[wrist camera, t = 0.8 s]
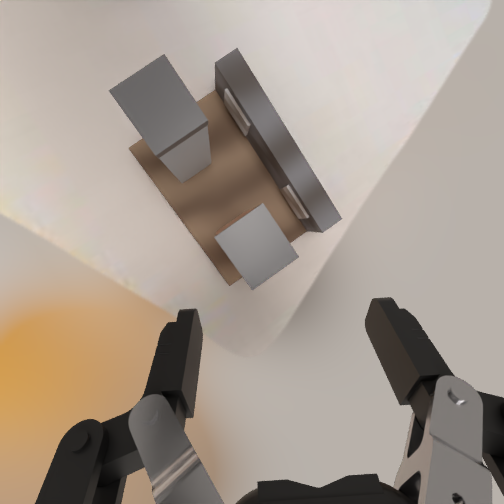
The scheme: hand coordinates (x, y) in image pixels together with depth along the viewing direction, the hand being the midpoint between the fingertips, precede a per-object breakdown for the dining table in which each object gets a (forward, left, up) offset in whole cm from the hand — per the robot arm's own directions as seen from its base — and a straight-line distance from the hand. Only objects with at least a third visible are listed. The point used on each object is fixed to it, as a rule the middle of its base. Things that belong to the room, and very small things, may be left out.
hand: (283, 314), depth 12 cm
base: (-8, +4, -21) cm, 23 cm away
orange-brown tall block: (-2, +1, -19) cm, 20 cm away
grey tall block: (-13, +1, -19) cm, 23 cm away
